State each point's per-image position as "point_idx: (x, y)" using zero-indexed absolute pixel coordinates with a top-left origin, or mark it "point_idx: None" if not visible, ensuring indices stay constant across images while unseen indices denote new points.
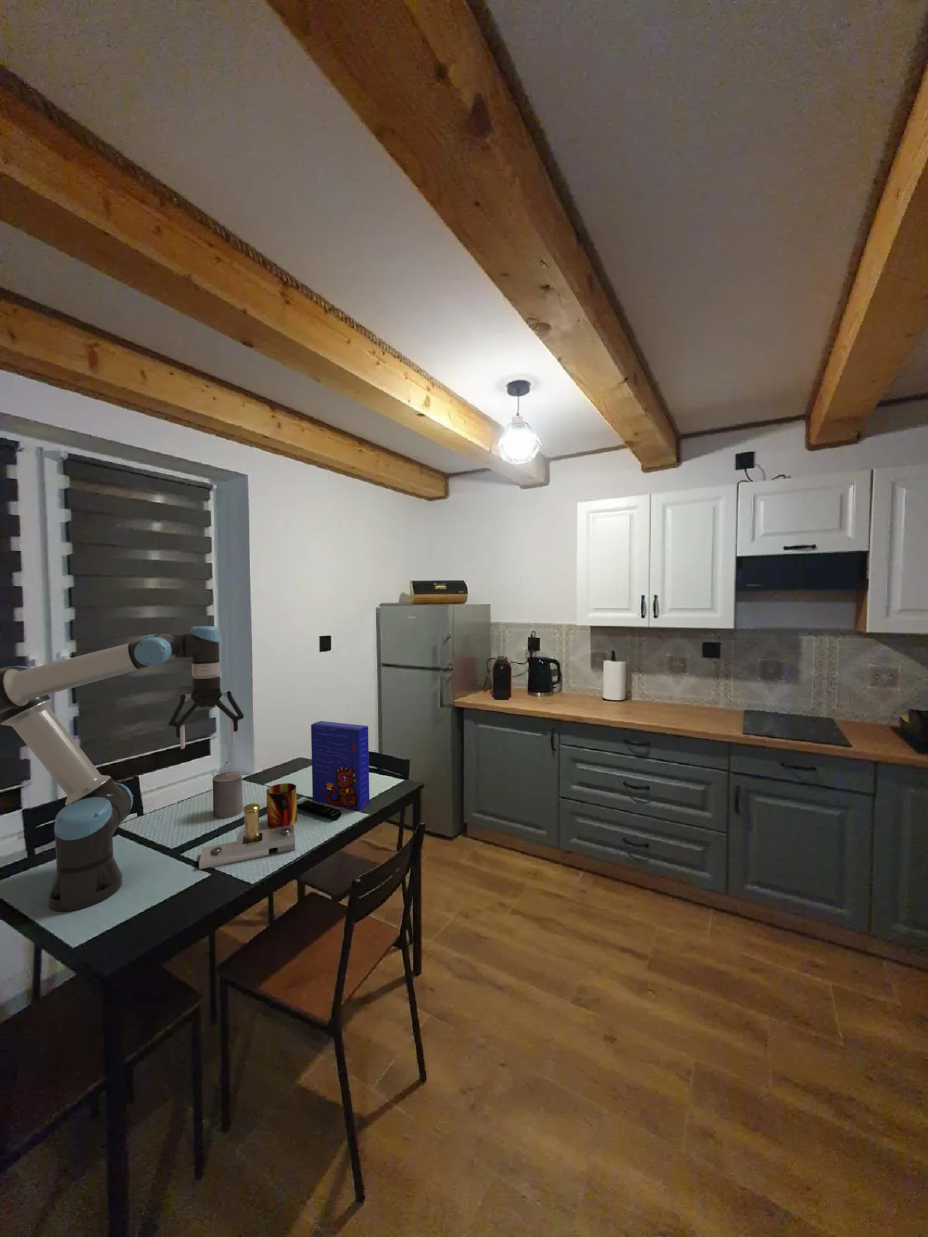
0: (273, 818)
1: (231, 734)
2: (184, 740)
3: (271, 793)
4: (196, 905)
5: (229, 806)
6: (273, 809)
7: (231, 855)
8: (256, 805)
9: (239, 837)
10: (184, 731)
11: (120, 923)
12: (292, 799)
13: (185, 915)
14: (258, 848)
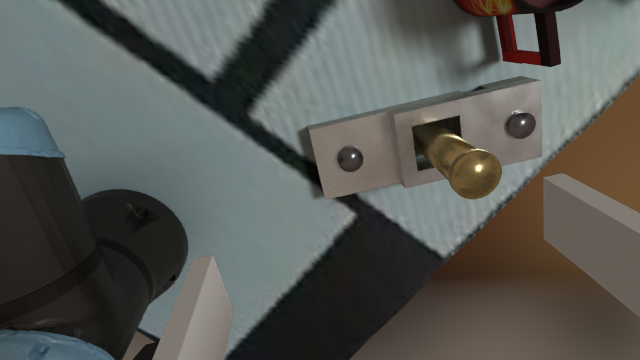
0: (481, 10)
1: (598, 277)
2: (208, 303)
3: None
4: (360, 301)
5: None
6: (497, 10)
7: (391, 181)
8: (492, 168)
9: (403, 132)
10: (183, 350)
11: (253, 328)
12: None
13: (350, 322)
14: None
